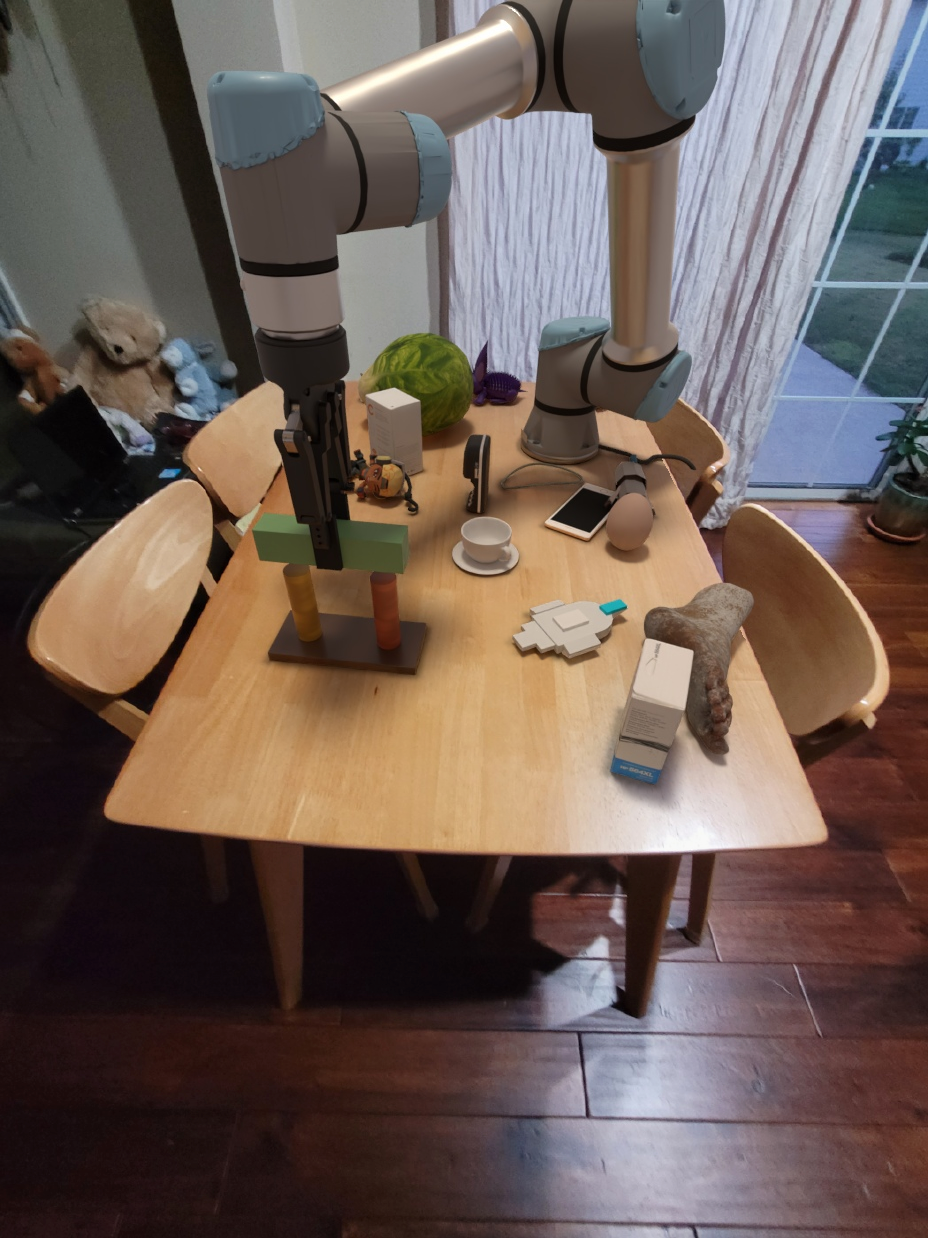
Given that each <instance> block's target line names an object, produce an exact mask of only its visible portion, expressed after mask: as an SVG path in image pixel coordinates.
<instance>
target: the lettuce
mask: <svg viewBox="0 0 928 1238" xmlns="http://www.w3.org/2000/svg"><path fill="white" fill-rule="evenodd" d="M472 372H473V369H472V366H471V365H470V362H469V359H468V356H467V355H466V353H465V352H464V351H463V350H462V349H461V348H460V347H459V346H458V345H457V344H455V342H452V341H450V340H449V339H448V338H446V337H444V336H441V335H439V334H436V333H432V332H417V333H410V334H405V335H403V336H399V337H397V338H396V339H395V340H393V341H392V342H390V343H389V344H388V345H387V346H385V348H384V349H383V350H382V351H381V352H380V353H379V354H378V356H376V358H375V360H374V361H373V363H372V364H371V365H369V367H368V368H367V369H366V370H365V371H364V372H363V373H362V374H363V375H362V377H361V376H360V378H359V380H358V383H357V390H358V396H359V398H360V399H361V400H362V401H363V402H362V403H363V404H364V405H365V406H366V397H365V395H367V394H371V393H375V392H379V391H383V390H387V389H391V388H396V389H398V390H400V391H402V392H404V393H406V394H408V395H410V396H412V397H414V398H416V399H417V400H420V401H421V428H422V438H423V437H426V436H431V435H434V434H436V433H440V432H442V431H444V430H446V429H447V428H450V427H452V426H454V425H456V424H459V423H460V422H461V421H462V420H463V418H464V417H465V416H466V414H467V413H468V412H469V410H470V408H471V405H472V401H473V396H474V394H473V375H472ZM360 399H359V400H360Z"/></svg>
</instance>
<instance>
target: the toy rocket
mask: <svg viewBox="0 0 928 1238" xmlns="http://www.w3.org/2000/svg"><path fill="white" fill-rule="evenodd" d="M628 609H629V607H628V604H626V603H625V602H624V601H623V600H622V599H621V598H617V599H616V600H612V601H609V602H606V603H603V604H600V603H598V602H595V601H590V600H579V601H574V602H571V603H568V604H566V603H565V602H563V601H562V600H561V599H559V598H558V599H554V600H552V601H548V602H545V603H542V604H539V605H536V606H532V607H529V612H528V615H530V617H531V620H530V621H529V622H526V623H523V624H520V630H521V631H520V632H517V633H515V634H512V636H511V637H512V639H511V640H512V641H513V642H514V643H515V644H516V646H517V647H518V648H519V650H520V651H521V652H525V651H528V650H532V649H535V648H536V649H537V650H538V651H539V653H540V654H543V653H546V652H550V651H553V650H554V652H555V653H556V654H562V655H563V656H565V657H566V658H568V659H572V658H575V657H578V656H581V655H583V654H586V653H589V652H592V651H594V650H597V649H600V648H601V644H602V642H601V641H600V640H601V639H603V638H604V637H606V636H608V635H609V634H610V632H611V630H612V625H613V620H614V619H615V618H617V617H618V616H619V615H621V614H623V613H624V612H625V611H627V610H628Z"/></svg>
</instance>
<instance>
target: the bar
mask: <svg viewBox="0 0 928 1238" xmlns="http://www.w3.org/2000/svg"><path fill="white" fill-rule="evenodd" d="M336 520H337V527H338V533H339V541H340V547H341V554H342V561H343V569H344V570H353V571H354V570H355V571H362V572H363V571H364V572H365V571H366V572H384V573H395V574H396V575H404V574H405V571H406V569H407V565H408V562H409V559H410V556H411V555H410V554H411V553H410V531H409V530H410V529H409V525H407V524H398V523H386V522H385V523H384V522H374V521H361V520H353V519H350V520H341V519H336ZM251 533H252V537H253V541H254V544H255V548H256V552H257V556H258V560H259V562H260V561H261V562H269V563H270V562H271V563H279V564H289V563H290V564H300V565H309V566H312V567H316V561H315V556H314V551H313V545H312V540H311V534H310V529H309V525H307V524H298V523H297V521H296V516H295V514H284V513H274V512H273V513H271V512H263V513H262V515H261V517H260V518H259V519H258V521H257V522H256V523H255V525H254V526H253V527H252V529H251ZM343 569H342V570H343Z"/></svg>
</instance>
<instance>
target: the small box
mask: <svg viewBox="0 0 928 1238" xmlns="http://www.w3.org/2000/svg"><path fill="white" fill-rule="evenodd" d="M365 397H366V405H365V406H366V416H367V417H366V418H367V427H368V428H367V429H368V440H369V450H370V454H376V455H378V456H389V457H390V458H391V459H392V460H396V461H399V462H403V463H404V467H405V472H406V474H407V475H408V476H409V477H410V476H412V475H415V474H417V473H420V472H422V471H424V458H423V457H424V456H423V437H422V428H421V401H420V400H417V399H416V398H414V397H412V396H410V395H408V394H406V393H404V392H402V391H400V390H398V389H396V388H391V389H387V390H383V391H379V392H375V393H371V394H367V395H365ZM378 456H377V457H378ZM377 457H376V458H377ZM376 458H375V463H376ZM393 464H395V463H393Z"/></svg>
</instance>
